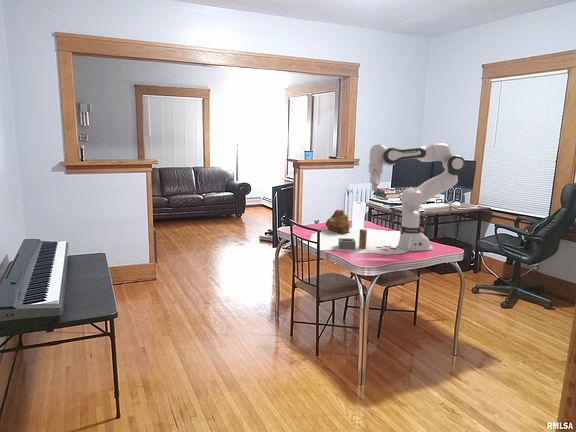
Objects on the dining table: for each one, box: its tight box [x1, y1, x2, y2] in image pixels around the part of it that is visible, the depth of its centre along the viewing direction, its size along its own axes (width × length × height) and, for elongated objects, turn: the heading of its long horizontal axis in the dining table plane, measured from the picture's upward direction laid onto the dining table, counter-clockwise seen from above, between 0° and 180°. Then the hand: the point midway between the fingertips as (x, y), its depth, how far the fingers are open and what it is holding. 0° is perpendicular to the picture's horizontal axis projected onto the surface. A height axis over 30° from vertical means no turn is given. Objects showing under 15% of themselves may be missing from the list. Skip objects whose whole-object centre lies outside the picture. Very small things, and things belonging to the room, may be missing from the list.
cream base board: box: [338, 245, 372, 252], centre depth 275 cm, size 20×11×2 cm, turn 87°
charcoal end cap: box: [337, 237, 357, 251], centre depth 275 cm, size 10×9×5 cm
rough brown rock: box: [325, 209, 350, 234], centre depth 329 cm, size 23×17×15 cm
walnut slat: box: [358, 228, 368, 249], centre depth 274 cm, size 4×3×12 cm
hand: (374, 191), depth 278 cm, fingers open, 8 cm apart
